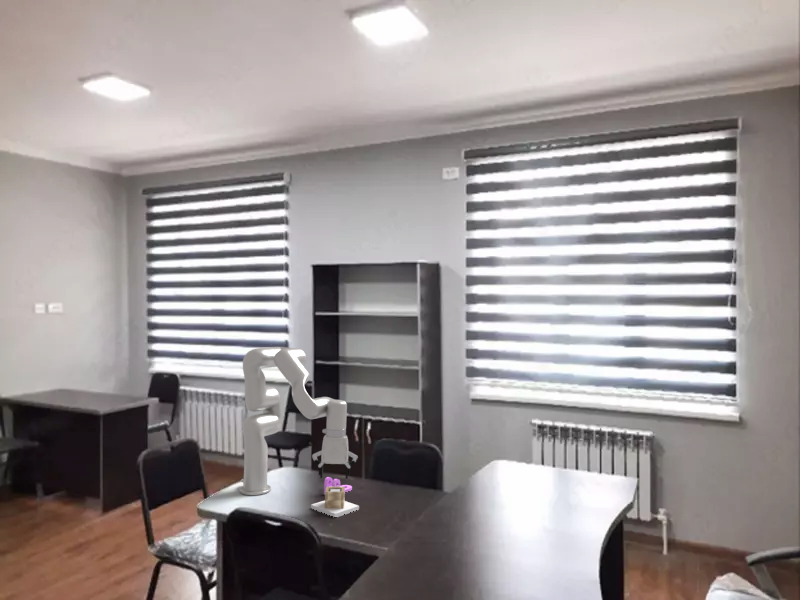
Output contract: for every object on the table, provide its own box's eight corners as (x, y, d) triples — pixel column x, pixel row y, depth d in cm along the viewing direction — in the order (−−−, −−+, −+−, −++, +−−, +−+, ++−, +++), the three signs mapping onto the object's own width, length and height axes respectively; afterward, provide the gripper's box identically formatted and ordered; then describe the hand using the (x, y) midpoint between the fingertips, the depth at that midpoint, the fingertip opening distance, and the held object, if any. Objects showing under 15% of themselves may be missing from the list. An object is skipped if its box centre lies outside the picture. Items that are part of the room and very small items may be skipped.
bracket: (334, 497, 230) (334, 480, 230) (323, 495, 233) (324, 478, 233) (354, 489, 240) (354, 473, 240) (344, 487, 243) (344, 471, 243)
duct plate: (310, 508, 216) (311, 490, 216) (334, 501, 225) (335, 483, 225) (335, 517, 207) (335, 498, 207) (359, 509, 216) (359, 491, 216)
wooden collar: (324, 508, 212) (325, 492, 212) (326, 502, 219) (326, 486, 219) (343, 508, 213) (343, 492, 213) (344, 502, 220) (344, 486, 220)
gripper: (312, 434, 212) (310, 479, 212) (358, 435, 213) (356, 481, 213) (314, 429, 220) (312, 473, 220) (358, 431, 221) (356, 475, 221)
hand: (334, 477), depth 216 cm, fingers open, 9 cm apart
